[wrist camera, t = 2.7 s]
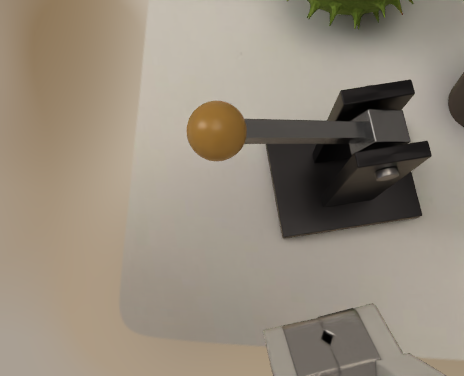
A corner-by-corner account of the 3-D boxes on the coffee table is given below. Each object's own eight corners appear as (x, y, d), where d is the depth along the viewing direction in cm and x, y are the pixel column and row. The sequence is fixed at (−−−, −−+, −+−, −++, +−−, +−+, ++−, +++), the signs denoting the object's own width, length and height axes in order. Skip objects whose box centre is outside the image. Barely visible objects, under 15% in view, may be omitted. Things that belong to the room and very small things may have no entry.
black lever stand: (282, 238, 39) (300, 211, 25) (265, 143, 41) (273, 70, 27) (417, 217, 39) (507, 179, 25) (393, 122, 41) (464, 40, 27)
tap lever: (183, 169, 24) (202, 149, 21) (176, 115, 25) (193, 88, 22) (382, 164, 30) (418, 147, 27) (371, 120, 30) (405, 99, 27)
